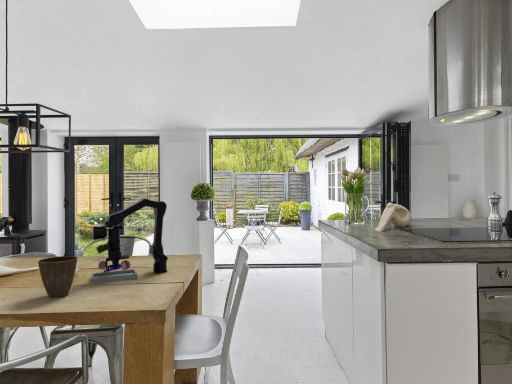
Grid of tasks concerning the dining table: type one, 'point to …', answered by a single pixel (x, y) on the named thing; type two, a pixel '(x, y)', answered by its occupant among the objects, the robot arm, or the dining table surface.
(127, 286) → the dining table surface
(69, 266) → the plant pot
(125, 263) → the figurine character
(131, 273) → the cradle
